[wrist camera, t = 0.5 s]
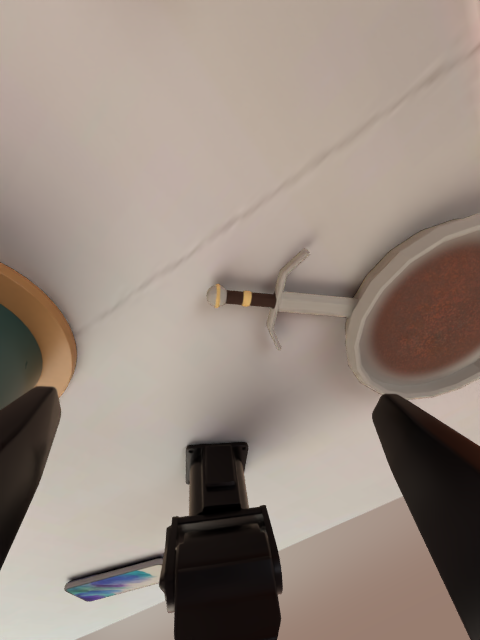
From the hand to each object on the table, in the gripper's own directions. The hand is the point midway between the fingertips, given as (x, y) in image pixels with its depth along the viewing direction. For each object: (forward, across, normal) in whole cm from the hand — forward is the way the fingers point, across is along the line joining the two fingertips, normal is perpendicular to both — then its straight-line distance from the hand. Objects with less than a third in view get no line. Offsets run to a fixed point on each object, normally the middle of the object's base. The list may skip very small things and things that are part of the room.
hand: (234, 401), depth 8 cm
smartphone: (+15, +8, +52) cm, 55 cm away
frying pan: (+14, -14, +3) cm, 20 cm away
